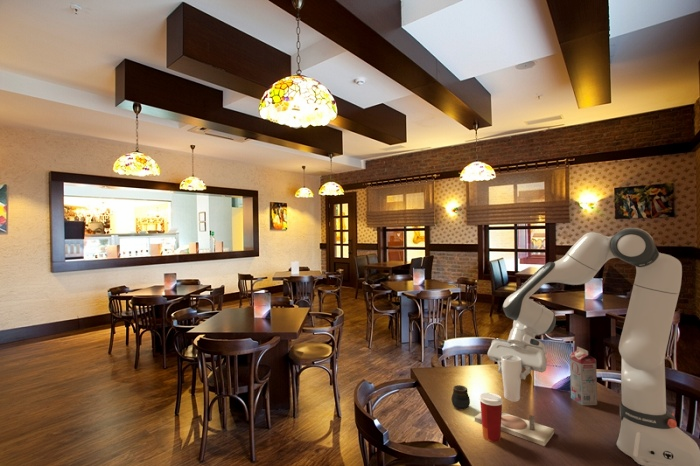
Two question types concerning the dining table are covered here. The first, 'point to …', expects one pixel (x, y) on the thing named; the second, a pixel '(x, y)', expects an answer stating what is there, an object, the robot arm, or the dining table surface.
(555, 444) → the dining table surface
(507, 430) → the pin board
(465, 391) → the mate gourd
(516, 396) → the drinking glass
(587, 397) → the juice carton
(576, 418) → the dining table surface
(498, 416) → the paper cup
